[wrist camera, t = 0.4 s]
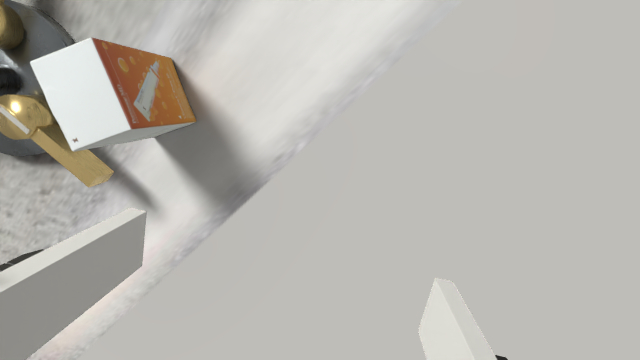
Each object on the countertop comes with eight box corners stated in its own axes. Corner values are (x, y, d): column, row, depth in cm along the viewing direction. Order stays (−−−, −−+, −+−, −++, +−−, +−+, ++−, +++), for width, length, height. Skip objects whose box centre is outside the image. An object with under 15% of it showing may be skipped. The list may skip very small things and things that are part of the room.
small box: (198, 122, 41) (132, 131, 29) (153, 138, 42) (70, 154, 30) (172, 55, 40) (90, 34, 27) (125, 74, 41) (25, 62, 28)
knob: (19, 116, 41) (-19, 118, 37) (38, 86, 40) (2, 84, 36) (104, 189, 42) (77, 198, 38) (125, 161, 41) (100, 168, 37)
